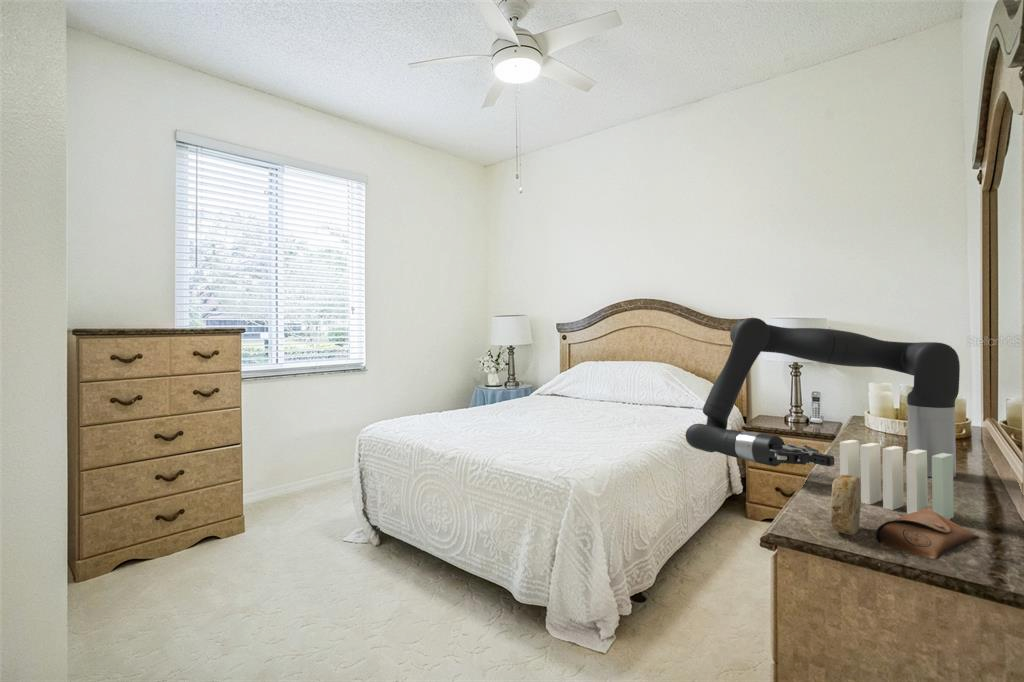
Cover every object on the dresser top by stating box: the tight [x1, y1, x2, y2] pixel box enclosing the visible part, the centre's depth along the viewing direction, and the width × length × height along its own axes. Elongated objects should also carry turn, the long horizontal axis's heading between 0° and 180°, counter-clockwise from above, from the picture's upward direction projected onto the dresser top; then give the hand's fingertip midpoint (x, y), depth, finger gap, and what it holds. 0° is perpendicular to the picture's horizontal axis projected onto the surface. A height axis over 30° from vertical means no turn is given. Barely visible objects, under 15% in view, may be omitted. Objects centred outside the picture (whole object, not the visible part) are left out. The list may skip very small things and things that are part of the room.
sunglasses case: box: [875, 506, 979, 560], centre depth 84 cm, size 18×7×7 cm
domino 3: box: [881, 445, 905, 511], centre depth 100 cm, size 2×5×12 cm, turn 122°
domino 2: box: [859, 442, 882, 505], centre depth 104 cm, size 2×5×12 cm, turn 121°
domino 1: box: [839, 439, 861, 481], centre depth 107 cm, size 2×5×12 cm, turn 121°
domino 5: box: [931, 453, 955, 521], centre depth 94 cm, size 2×5×12 cm, turn 121°
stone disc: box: [829, 475, 862, 536], centre depth 88 cm, size 10×4×10 cm, turn 135°
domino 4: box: [905, 449, 929, 515], centre depth 97 cm, size 2×5×12 cm, turn 121°
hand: (832, 461), depth 110 cm, fingers closed
